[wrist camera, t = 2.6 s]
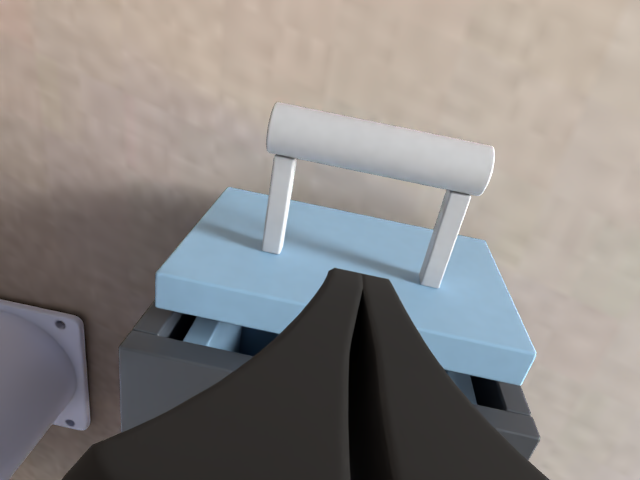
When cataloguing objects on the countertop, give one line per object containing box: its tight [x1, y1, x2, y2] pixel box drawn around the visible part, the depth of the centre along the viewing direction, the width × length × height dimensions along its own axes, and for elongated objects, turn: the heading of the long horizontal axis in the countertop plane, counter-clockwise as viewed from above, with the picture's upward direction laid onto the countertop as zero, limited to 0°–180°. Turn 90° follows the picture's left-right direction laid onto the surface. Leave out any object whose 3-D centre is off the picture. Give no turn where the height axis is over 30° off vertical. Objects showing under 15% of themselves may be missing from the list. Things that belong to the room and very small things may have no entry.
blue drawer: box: [155, 102, 536, 405], centre depth 17 cm, size 17×10×7 cm, turn 170°
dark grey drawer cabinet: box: [119, 300, 540, 460], centre depth 19 cm, size 14×12×9 cm
